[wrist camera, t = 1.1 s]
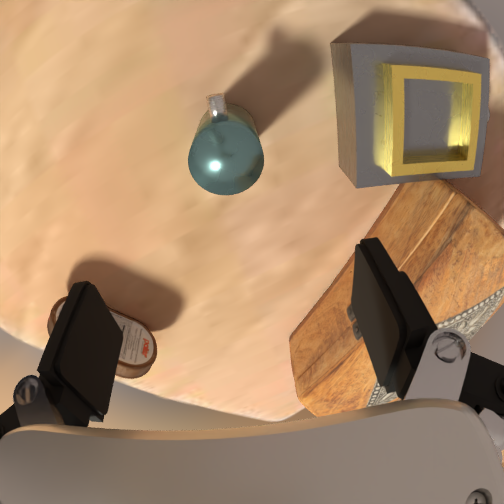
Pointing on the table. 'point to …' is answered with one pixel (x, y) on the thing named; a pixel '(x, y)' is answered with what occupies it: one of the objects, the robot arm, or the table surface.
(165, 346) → the table surface
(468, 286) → the wooden box
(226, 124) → the spout can
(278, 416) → the table surface
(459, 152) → the grey yellow box
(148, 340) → the tin
